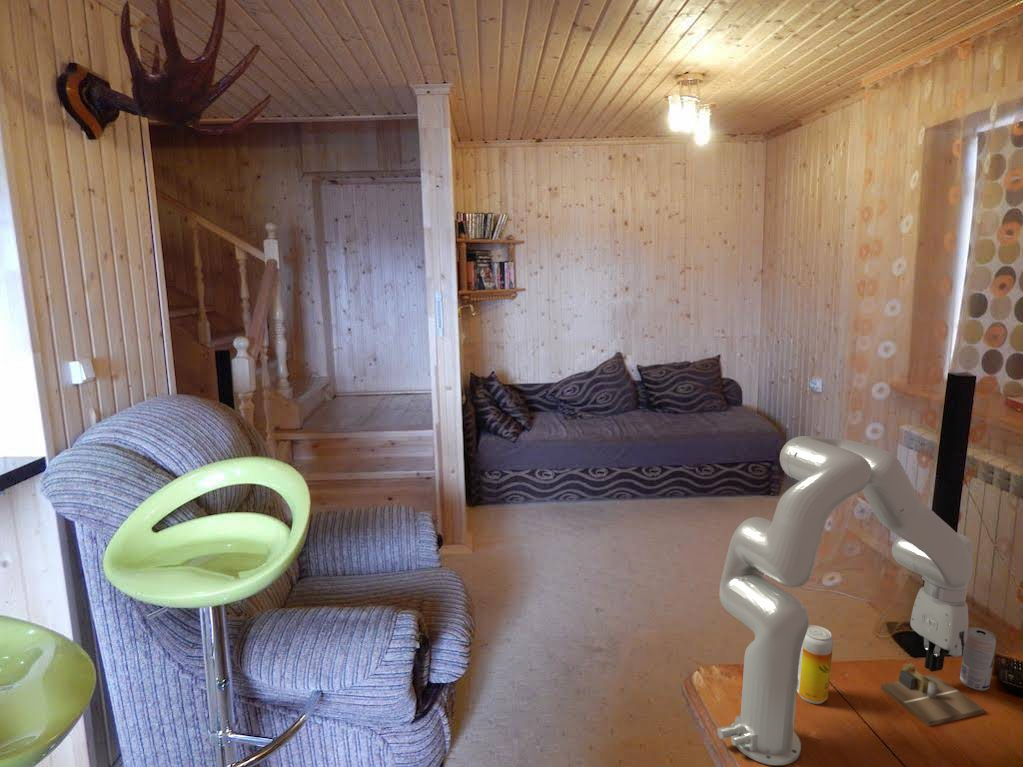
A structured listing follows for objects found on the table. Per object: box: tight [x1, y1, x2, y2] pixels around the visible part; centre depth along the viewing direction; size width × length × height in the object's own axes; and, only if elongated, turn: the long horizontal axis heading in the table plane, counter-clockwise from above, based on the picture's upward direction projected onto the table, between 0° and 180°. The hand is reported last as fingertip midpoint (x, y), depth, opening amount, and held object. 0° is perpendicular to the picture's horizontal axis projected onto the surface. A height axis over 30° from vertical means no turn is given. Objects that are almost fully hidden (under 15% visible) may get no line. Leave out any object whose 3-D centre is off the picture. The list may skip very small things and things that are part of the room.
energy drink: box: [959, 626, 997, 692], centre depth 143 cm, size 5×5×12 cm
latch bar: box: [902, 662, 931, 692], centre depth 142 cm, size 5×2×3 cm, turn 17°
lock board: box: [880, 669, 985, 727], centre depth 138 cm, size 14×12×4 cm
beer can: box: [797, 624, 834, 705], centre depth 139 cm, size 6×6×15 cm
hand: (933, 668), depth 143 cm, fingers closed
